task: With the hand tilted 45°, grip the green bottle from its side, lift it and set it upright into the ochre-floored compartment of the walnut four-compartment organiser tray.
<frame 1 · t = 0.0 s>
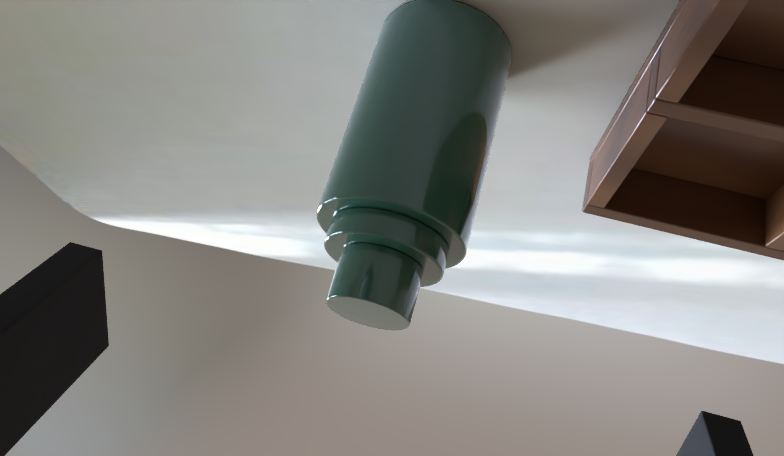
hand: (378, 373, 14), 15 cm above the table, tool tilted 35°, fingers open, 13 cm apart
green bottle: (445, 49, 27), on the table
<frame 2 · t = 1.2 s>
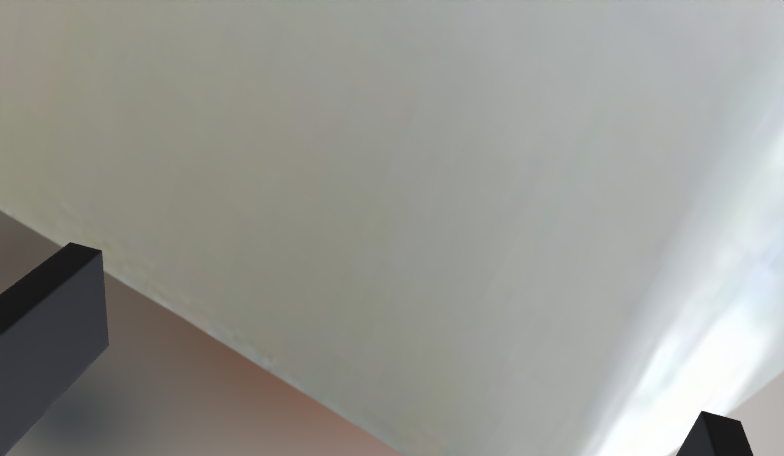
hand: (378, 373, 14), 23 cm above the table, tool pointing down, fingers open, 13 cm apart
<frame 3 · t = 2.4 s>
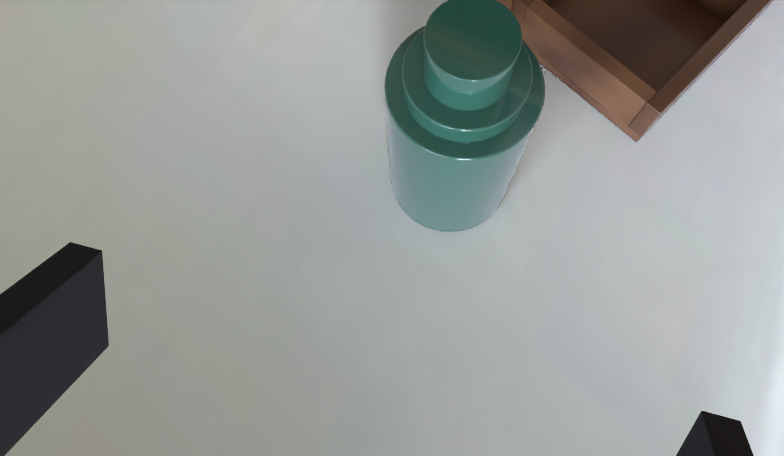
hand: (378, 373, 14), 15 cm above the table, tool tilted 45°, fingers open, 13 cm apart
green bottle: (448, 176, 31), on the table
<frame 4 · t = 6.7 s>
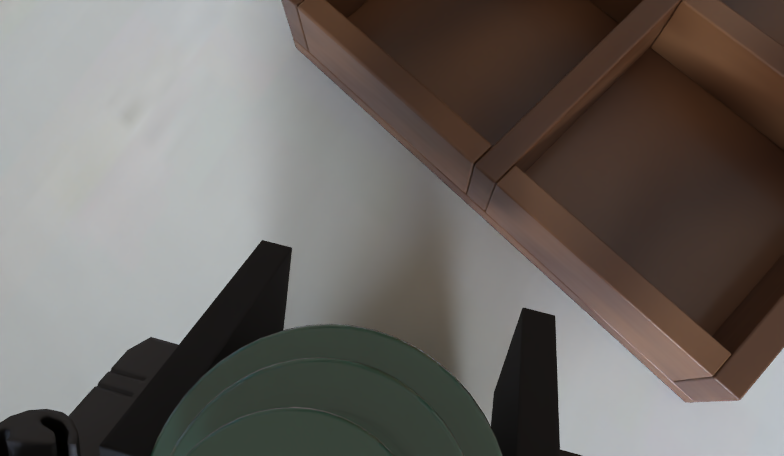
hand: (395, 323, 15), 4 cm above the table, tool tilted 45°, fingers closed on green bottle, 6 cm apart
tray: (641, 43, 21), on the table
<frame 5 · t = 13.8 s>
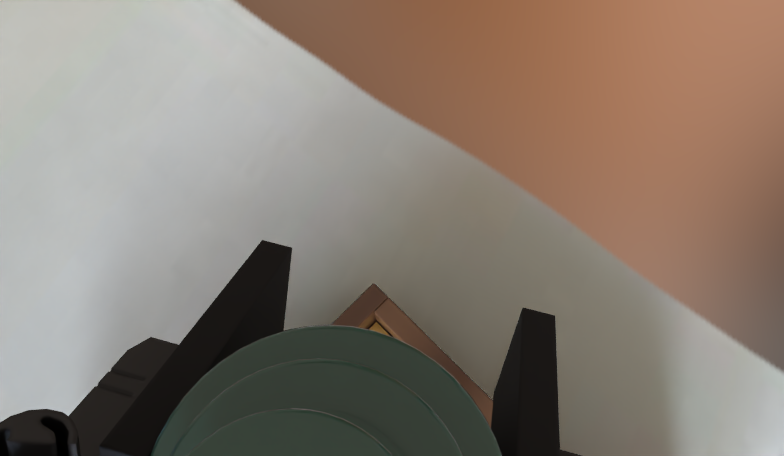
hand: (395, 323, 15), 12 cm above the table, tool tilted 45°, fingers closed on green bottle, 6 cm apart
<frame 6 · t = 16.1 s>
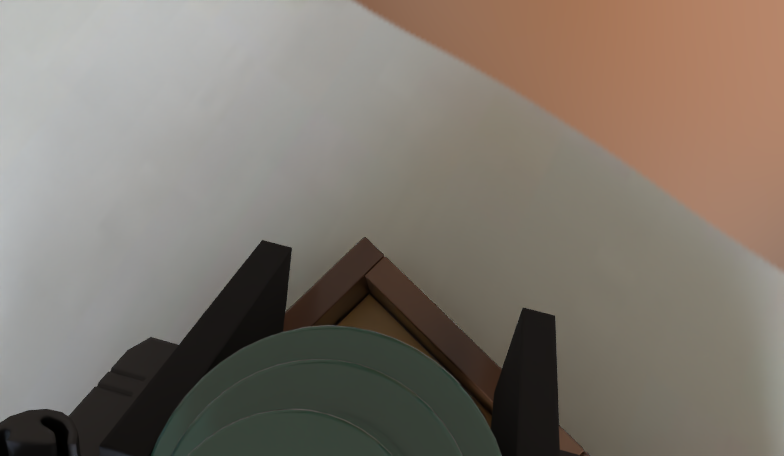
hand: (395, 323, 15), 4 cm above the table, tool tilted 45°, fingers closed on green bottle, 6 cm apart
when the fingers open (6 cm above the table, at t = 21.4 s): green bottle drops 1 cm, resting on tray.
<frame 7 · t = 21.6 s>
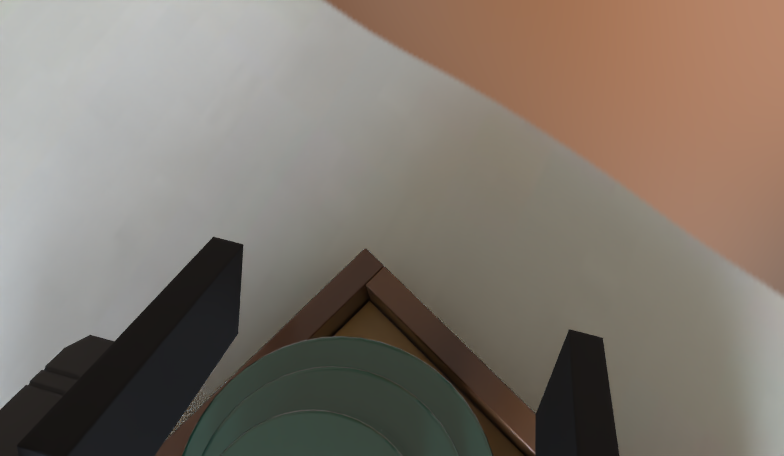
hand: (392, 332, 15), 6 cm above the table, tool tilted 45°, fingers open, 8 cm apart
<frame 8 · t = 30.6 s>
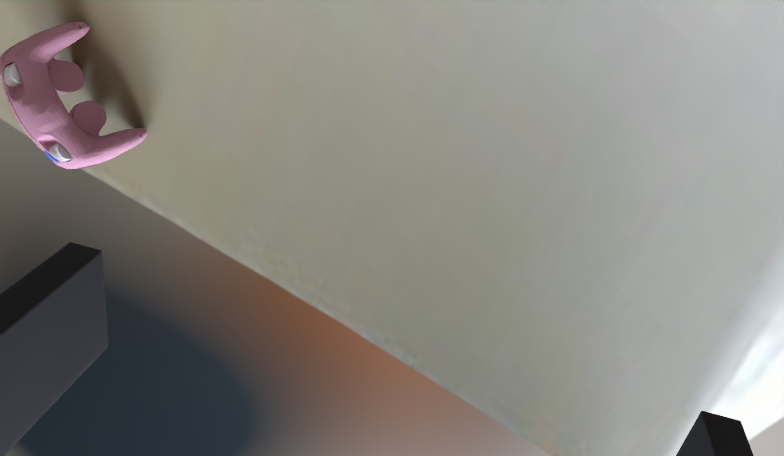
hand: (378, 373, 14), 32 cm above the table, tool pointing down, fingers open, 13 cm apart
video game controller: (95, 89, 49), on the table
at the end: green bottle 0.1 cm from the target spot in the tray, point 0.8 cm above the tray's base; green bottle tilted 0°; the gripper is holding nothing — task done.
